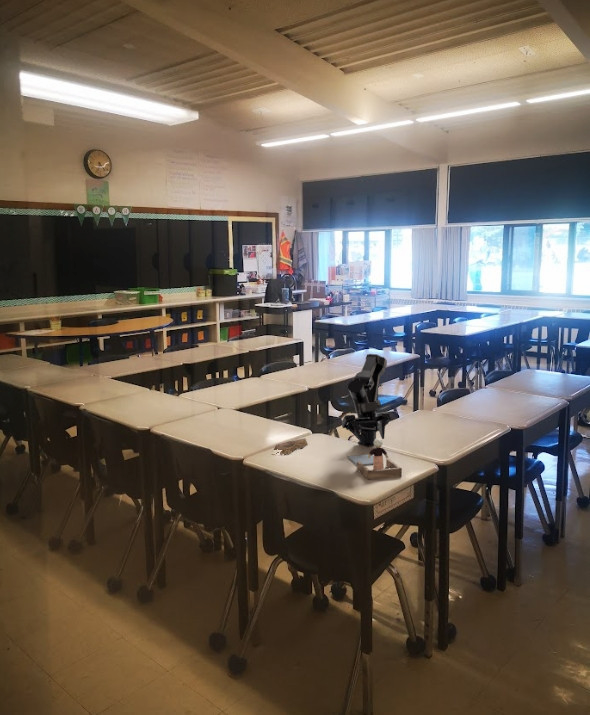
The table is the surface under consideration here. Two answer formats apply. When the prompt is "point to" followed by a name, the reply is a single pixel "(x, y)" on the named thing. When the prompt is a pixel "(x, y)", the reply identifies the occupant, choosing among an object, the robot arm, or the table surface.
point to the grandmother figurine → (378, 455)
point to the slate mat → (362, 459)
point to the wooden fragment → (290, 446)
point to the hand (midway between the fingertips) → (372, 439)
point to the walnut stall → (380, 471)
